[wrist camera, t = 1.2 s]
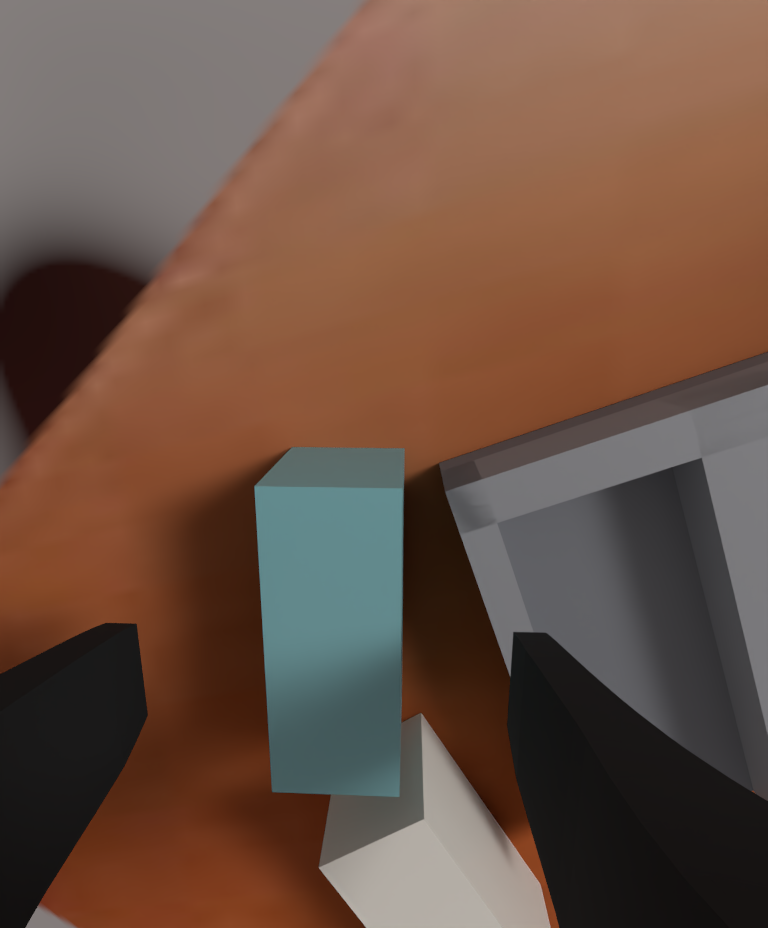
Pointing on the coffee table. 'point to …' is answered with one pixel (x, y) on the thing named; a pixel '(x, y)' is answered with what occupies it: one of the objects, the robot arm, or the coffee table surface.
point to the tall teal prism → (333, 618)
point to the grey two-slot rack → (641, 554)
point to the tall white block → (428, 850)
